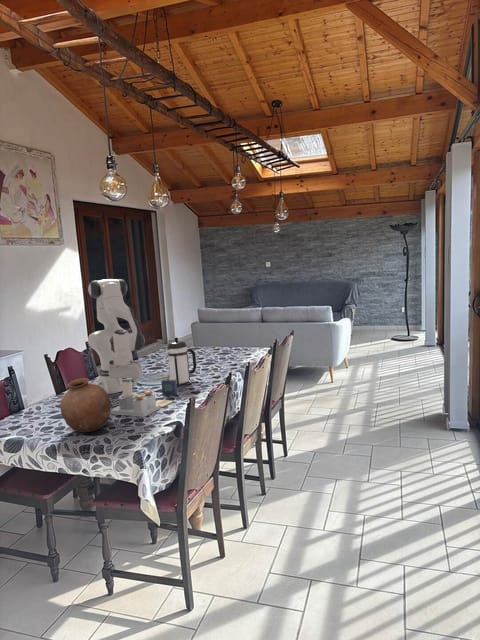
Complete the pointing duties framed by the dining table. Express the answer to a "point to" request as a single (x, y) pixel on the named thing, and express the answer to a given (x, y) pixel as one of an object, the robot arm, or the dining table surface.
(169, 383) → the dark blue rectangular block
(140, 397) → the plunger
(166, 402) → the trivet
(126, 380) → the cartridge
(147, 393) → the plunger
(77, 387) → the pottery
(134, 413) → the housing
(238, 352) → the dining table surface
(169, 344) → the coffee press
